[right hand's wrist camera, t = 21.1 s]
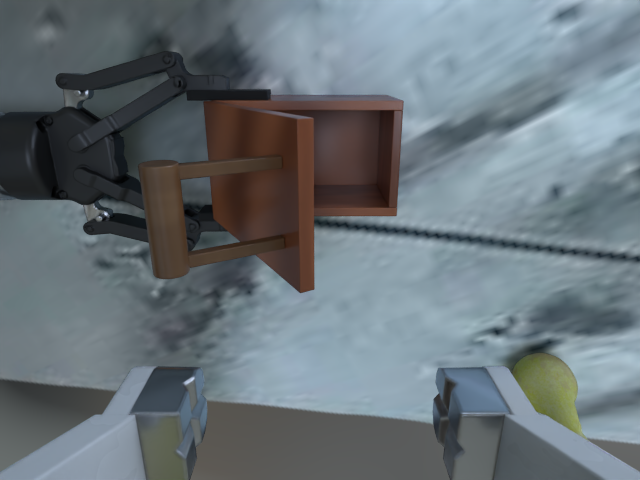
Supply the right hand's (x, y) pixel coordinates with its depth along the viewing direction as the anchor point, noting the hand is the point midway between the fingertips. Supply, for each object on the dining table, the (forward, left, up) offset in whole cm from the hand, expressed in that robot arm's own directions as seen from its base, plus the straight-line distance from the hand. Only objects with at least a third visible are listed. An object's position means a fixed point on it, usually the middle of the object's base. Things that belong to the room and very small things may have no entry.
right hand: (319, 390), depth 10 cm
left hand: (+2, +4, -31) cm, 31 cm away
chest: (0, +1, -38) cm, 38 cm away
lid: (+2, +4, -22) cm, 22 cm away
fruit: (-36, -12, -38) cm, 54 cm away
